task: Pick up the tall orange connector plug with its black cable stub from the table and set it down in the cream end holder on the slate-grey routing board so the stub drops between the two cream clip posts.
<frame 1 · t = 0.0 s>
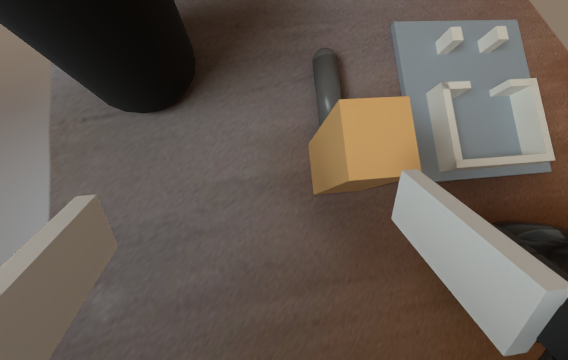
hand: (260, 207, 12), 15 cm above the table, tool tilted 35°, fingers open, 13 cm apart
plug: (333, 167, 28), on the table
coffee jar: (147, 70, 28), on the table
dark grey egg shape: (479, 265, 29), on the table
routing board: (466, 98, 31), on the table
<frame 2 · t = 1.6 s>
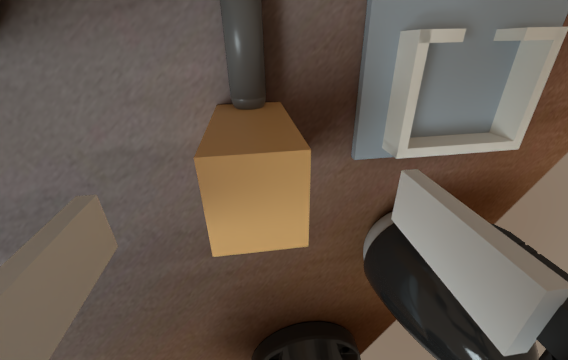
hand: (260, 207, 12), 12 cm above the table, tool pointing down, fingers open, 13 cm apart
plug: (251, 136, 22), on the table
dark grey egg shape: (393, 230, 30), on the table
routing board: (459, 38, 21), on the table
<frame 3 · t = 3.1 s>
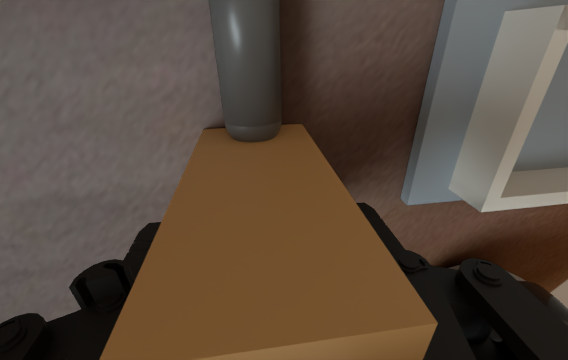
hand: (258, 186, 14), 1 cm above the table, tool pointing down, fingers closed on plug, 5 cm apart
plug: (257, 174, 15), on the table, touching gripper
dark grey egg shape: (444, 286, 22), on the table
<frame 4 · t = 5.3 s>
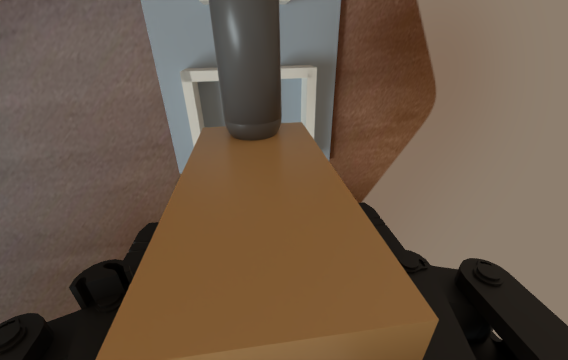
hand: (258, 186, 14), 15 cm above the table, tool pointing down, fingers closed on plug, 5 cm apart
plug: (256, 173, 15), point 13 cm above the table, touching gripper
routing board: (249, 72, 25), on the table
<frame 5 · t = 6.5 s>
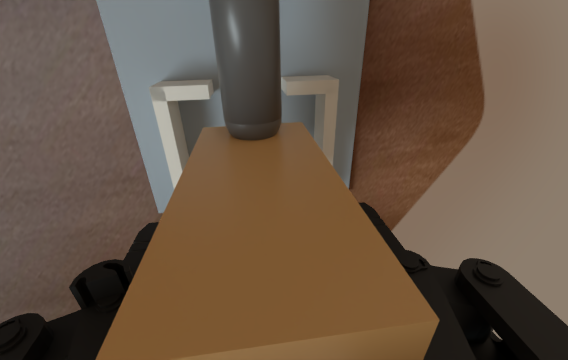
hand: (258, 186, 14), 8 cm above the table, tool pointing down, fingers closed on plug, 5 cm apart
plug: (257, 173, 15), point 6 cm above the table, touching gripper
routing board: (247, 84, 19), on the table
when the fingers open (4 cm above the table, at t = 7.6 s): plug drops 1 cm, resting on routing board.
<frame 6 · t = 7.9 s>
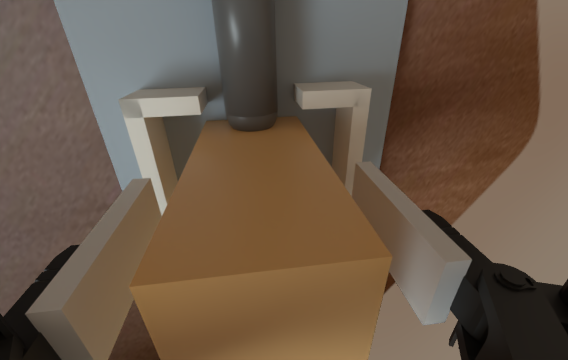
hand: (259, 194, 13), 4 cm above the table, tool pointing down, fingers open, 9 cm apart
plug: (255, 163, 16), point 1 cm above the table, touching routing board
routing board: (250, 93, 15), on the table
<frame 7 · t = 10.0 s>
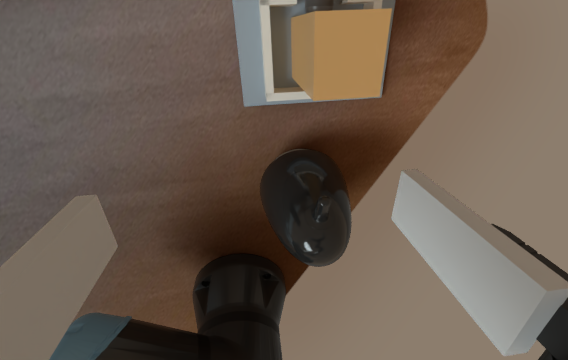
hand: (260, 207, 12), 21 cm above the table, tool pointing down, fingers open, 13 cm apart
plug: (315, 47, 27), point 1 cm above the table, touching routing board
dark grey egg shape: (296, 172, 36), on the table
routing board: (314, 2, 26), on the table
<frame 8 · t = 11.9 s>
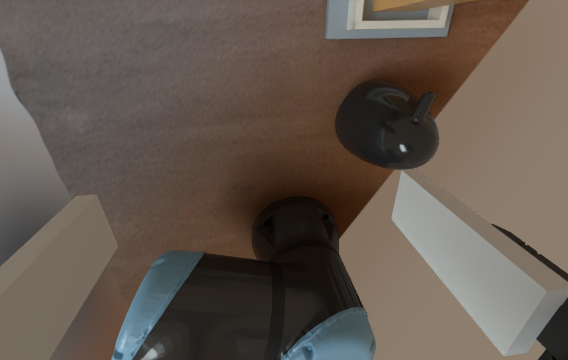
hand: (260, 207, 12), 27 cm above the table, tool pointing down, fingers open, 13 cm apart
dark grey egg shape: (361, 111, 39), on the table
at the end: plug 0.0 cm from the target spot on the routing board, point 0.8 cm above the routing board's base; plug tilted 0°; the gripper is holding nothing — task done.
